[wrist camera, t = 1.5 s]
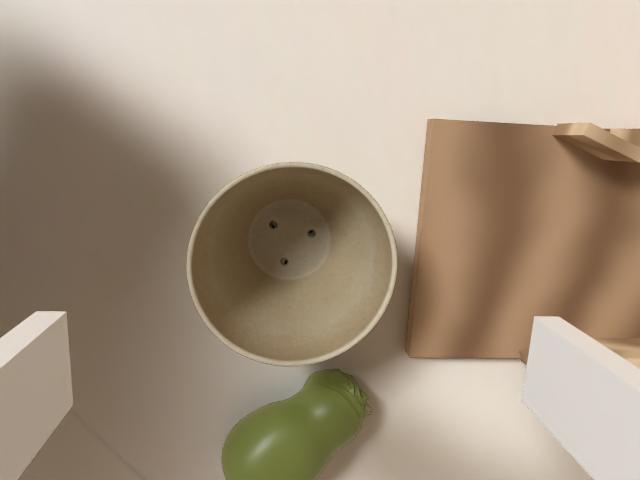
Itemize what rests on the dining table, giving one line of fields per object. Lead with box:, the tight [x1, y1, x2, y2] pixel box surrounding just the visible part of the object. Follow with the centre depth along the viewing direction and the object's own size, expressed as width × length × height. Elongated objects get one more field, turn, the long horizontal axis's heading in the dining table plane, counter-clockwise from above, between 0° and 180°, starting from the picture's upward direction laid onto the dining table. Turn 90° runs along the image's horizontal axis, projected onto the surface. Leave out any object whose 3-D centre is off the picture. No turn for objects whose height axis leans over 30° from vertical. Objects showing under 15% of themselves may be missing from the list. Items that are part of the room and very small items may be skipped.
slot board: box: [405, 119, 640, 369], centre depth 29 cm, size 22×15×4 cm
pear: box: [222, 369, 372, 480], centre depth 30 cm, size 6×5×10 cm
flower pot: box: [186, 162, 397, 366], centre depth 26 cm, size 10×10×7 cm
